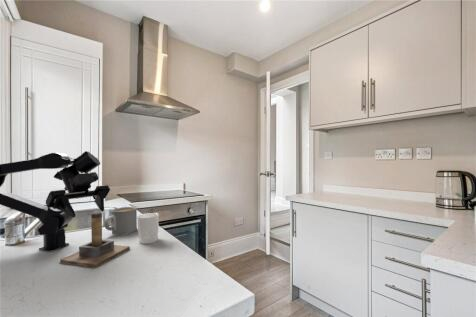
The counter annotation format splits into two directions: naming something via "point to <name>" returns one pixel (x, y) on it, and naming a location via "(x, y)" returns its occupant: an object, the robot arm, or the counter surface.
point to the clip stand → (95, 254)
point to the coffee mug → (122, 221)
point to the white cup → (148, 227)
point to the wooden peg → (96, 229)
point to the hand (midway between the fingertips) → (89, 213)
